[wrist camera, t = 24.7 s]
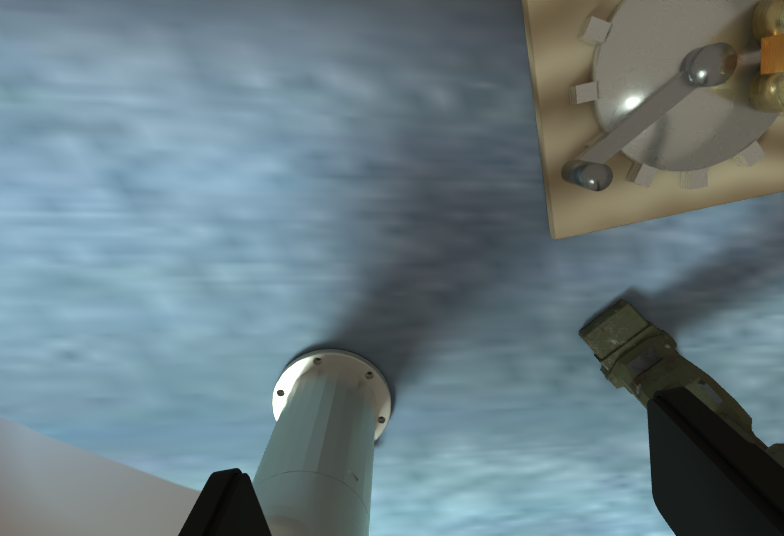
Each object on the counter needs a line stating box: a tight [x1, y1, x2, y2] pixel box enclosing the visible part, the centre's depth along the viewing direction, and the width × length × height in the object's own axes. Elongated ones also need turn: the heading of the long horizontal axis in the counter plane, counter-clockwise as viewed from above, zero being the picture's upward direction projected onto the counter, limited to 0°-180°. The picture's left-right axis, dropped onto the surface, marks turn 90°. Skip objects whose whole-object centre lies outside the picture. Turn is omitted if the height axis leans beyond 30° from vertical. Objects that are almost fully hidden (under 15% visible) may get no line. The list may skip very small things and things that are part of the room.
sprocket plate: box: [522, 0, 784, 240], centre depth 37 cm, size 24×24×2 cm
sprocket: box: [561, 0, 784, 191], centre depth 34 cm, size 19×21×6 cm
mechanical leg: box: [579, 300, 784, 468], centre depth 33 cm, size 14×7×30 cm, turn 43°
